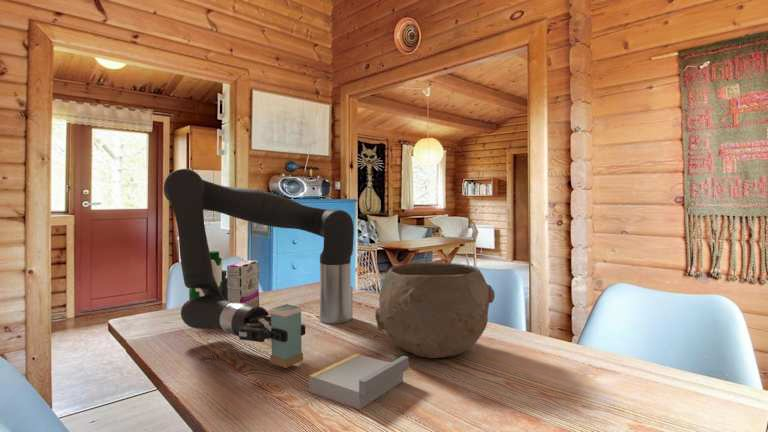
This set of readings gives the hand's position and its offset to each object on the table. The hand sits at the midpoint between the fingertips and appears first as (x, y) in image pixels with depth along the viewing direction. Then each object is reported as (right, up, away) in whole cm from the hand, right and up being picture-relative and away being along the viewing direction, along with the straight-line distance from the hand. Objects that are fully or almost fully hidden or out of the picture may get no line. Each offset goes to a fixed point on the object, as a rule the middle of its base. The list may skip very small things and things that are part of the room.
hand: (295, 333), depth 87 cm
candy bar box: (-26, -7, +45) cm, 52 cm away
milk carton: (-37, -7, +43) cm, 57 cm away
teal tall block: (-2, -6, +2) cm, 7 cm away
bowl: (+30, -8, +12) cm, 33 cm away
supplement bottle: (-38, -6, +56) cm, 68 cm away
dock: (+13, -8, -7) cm, 17 cm away
